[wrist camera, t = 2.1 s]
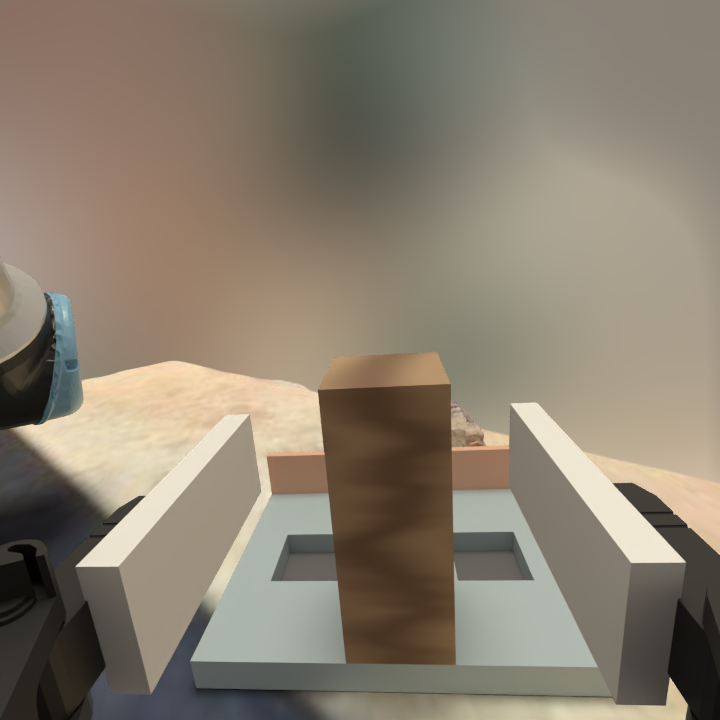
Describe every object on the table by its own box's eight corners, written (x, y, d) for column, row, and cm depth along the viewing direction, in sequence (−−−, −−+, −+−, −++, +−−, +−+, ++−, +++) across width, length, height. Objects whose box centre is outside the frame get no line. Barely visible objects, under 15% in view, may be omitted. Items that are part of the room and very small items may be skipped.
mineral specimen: (517, 473, 45) (519, 419, 43) (465, 494, 42) (464, 437, 40) (443, 432, 56) (442, 388, 54) (397, 447, 53) (395, 400, 51)
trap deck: (196, 687, 25) (177, 603, 23) (276, 508, 42) (268, 453, 40) (627, 697, 22) (638, 604, 21) (526, 503, 40) (527, 444, 38)
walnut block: (345, 663, 23) (317, 389, 19) (355, 581, 29) (335, 357, 25) (455, 665, 23) (450, 383, 19) (442, 580, 29) (436, 351, 25)
